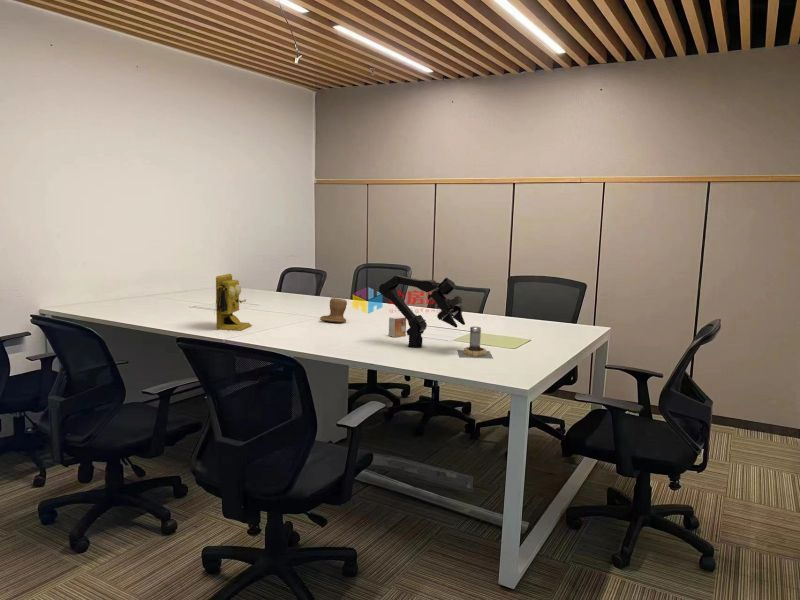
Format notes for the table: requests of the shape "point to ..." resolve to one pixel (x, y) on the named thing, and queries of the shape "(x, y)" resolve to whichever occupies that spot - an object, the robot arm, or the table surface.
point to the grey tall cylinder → (475, 338)
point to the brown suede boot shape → (336, 311)
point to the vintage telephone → (228, 304)
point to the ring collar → (474, 352)
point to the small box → (397, 326)
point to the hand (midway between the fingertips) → (460, 325)
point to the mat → (461, 355)
